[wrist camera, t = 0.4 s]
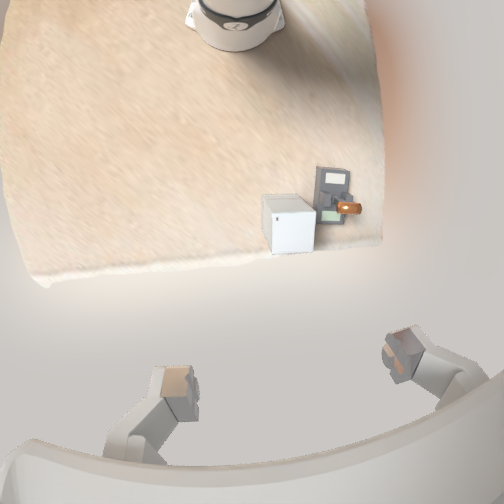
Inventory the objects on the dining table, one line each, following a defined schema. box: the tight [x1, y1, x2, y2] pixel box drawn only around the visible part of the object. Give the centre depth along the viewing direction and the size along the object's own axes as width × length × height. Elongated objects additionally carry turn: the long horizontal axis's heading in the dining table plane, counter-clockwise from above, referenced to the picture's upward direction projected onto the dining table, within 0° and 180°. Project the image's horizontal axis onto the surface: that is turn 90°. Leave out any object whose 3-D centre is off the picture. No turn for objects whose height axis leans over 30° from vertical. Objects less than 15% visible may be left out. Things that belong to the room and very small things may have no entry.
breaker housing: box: [313, 167, 353, 224], centre depth 52 cm, size 11×6×6 cm, turn 177°
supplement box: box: [262, 194, 317, 255], centre depth 49 cm, size 7×7×13 cm
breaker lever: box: [331, 196, 362, 214], centre depth 47 cm, size 2×4×8 cm, turn 87°
